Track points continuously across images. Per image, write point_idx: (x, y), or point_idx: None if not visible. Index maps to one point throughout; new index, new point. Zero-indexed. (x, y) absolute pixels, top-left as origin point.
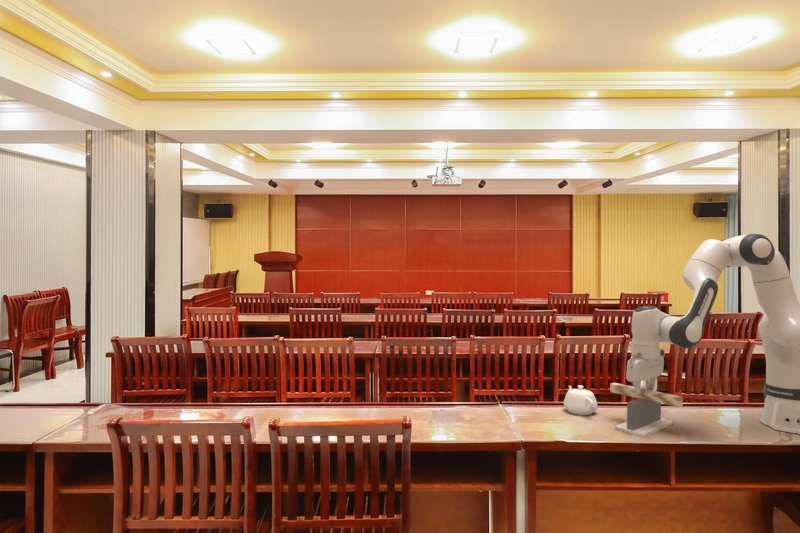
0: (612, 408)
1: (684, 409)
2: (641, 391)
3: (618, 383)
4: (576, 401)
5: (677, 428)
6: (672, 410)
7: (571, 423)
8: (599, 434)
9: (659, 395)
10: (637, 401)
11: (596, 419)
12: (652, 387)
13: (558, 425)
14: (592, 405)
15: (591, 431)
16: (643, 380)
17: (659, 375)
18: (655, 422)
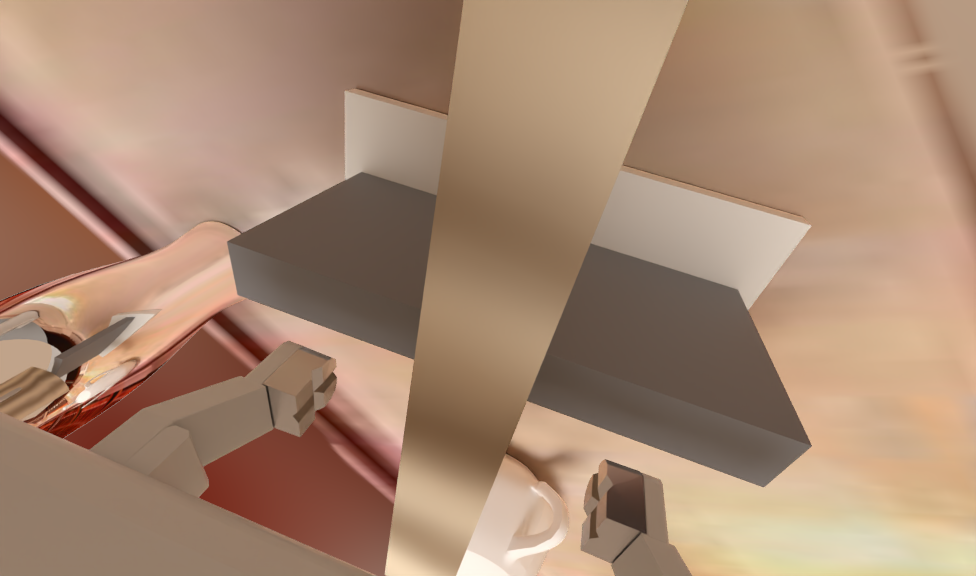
0: (344, 383)
1: (40, 83)
2: (620, 481)
3: (387, 560)
4: (542, 560)
5: (428, 37)
6: (120, 142)
7: (695, 513)
8: (848, 429)
9: (574, 271)
10: (661, 414)
11: (561, 435)
12: (315, 371)
13: (759, 551)
14: (565, 516)
15: (800, 457)
16: (89, 393)
17: (18, 423)
18: None
